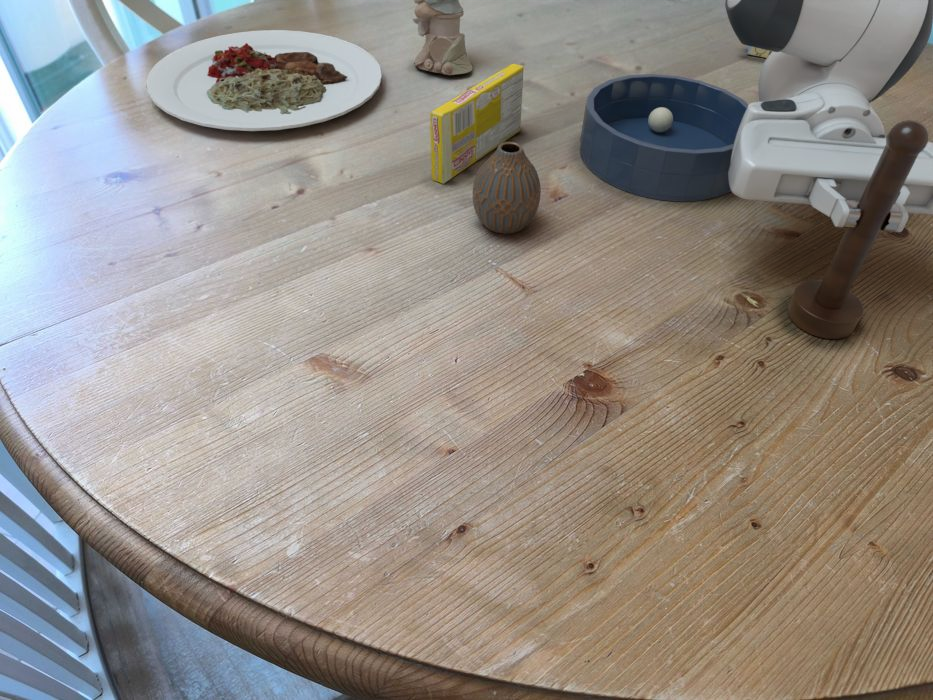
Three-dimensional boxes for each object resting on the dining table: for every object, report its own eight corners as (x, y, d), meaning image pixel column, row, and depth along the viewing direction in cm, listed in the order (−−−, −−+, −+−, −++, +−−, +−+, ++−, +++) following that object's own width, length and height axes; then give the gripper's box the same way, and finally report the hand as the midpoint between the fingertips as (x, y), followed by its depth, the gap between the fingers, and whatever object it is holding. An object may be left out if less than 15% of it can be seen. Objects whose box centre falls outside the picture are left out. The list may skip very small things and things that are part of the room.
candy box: (506, 126, 94) (512, 61, 89) (521, 131, 93) (527, 66, 88) (428, 179, 84) (428, 109, 79) (443, 185, 84) (445, 115, 78)
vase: (487, 248, 75) (493, 170, 69) (460, 212, 80) (463, 136, 74) (548, 234, 77) (558, 158, 71) (518, 200, 82) (526, 125, 76)
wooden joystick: (844, 299, 71) (941, 107, 58) (862, 342, 67) (972, 145, 54) (781, 293, 72) (863, 101, 58) (795, 336, 67) (886, 138, 54)
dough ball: (668, 126, 95) (674, 104, 93) (671, 137, 93) (676, 115, 91) (645, 124, 95) (649, 102, 93) (646, 135, 93) (652, 113, 91)
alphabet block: (748, 48, 116) (754, 28, 114) (768, 51, 116) (775, 31, 113) (746, 55, 114) (752, 35, 112) (767, 59, 113) (774, 38, 111)
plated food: (319, 162, 86) (316, 135, 84) (98, 114, 92) (90, 88, 90) (415, 64, 107) (415, 40, 105) (230, 30, 113) (226, 7, 111)
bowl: (730, 126, 97) (743, 81, 93) (758, 208, 83) (775, 160, 79) (578, 113, 98) (585, 68, 94) (580, 193, 84) (589, 144, 79)
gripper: (925, 179, 73) (982, 264, 63) (713, 162, 74) (736, 243, 64) (957, 118, 69) (1024, 200, 59) (731, 101, 69) (759, 178, 59)
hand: (872, 222), depth 61 cm, fingers closed on wooden joystick, 2 cm apart
